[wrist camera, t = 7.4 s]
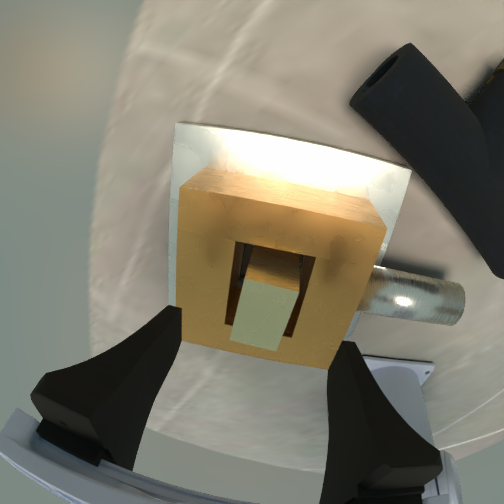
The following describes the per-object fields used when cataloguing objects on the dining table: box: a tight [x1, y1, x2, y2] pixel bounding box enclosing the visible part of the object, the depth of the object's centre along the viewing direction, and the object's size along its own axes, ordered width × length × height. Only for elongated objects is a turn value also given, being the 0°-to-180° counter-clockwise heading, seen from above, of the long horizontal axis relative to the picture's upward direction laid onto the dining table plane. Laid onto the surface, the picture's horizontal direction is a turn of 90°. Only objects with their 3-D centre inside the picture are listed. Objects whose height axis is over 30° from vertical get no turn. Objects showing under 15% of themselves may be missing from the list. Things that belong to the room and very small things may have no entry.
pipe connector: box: [350, 43, 504, 279], centre depth 13 cm, size 12×5×15 cm
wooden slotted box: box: [168, 122, 465, 369], centre depth 18 cm, size 15×20×5 cm
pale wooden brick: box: [230, 245, 300, 351], centre depth 18 cm, size 4×2×7 cm, turn 168°
